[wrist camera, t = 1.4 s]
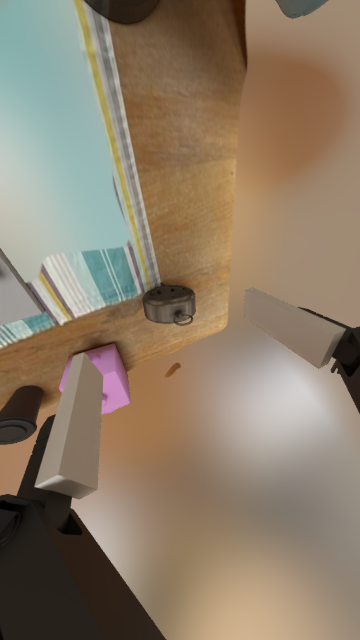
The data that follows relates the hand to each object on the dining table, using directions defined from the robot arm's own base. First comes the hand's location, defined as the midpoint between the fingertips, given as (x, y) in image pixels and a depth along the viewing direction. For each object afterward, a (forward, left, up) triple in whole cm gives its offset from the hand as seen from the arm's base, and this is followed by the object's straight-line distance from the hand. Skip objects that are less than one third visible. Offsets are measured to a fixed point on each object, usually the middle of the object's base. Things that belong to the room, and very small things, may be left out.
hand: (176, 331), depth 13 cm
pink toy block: (+20, -16, -26) cm, 37 cm away
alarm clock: (+7, +4, -26) cm, 28 cm away
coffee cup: (+23, -34, -26) cm, 49 cm away
